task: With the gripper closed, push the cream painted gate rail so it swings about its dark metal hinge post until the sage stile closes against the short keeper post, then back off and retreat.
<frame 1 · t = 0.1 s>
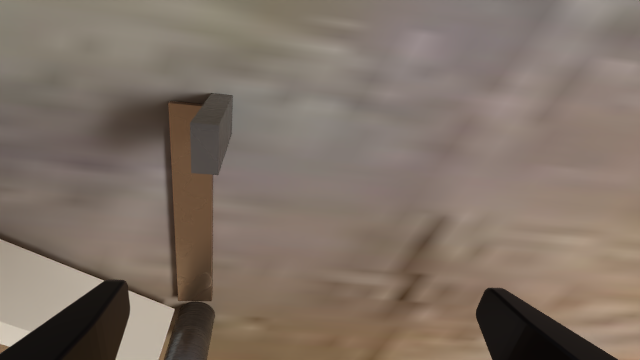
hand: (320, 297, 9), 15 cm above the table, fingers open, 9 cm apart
gate posts: (196, 315, 27), on the table
gate: (25, 305, 20), point 4 cm above the table, hinge at 60.0°
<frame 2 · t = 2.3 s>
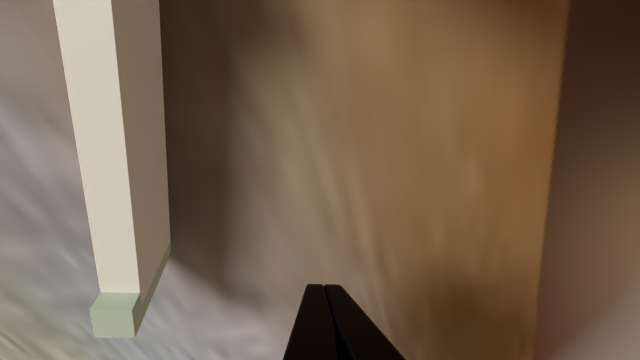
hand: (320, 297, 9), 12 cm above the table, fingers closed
gate: (123, 134, 14), point 4 cm above the table, hinge at 60.0°
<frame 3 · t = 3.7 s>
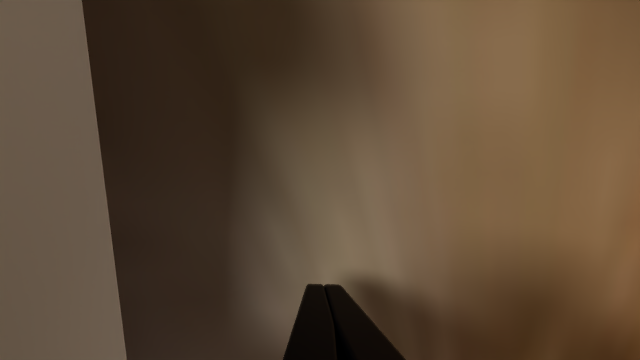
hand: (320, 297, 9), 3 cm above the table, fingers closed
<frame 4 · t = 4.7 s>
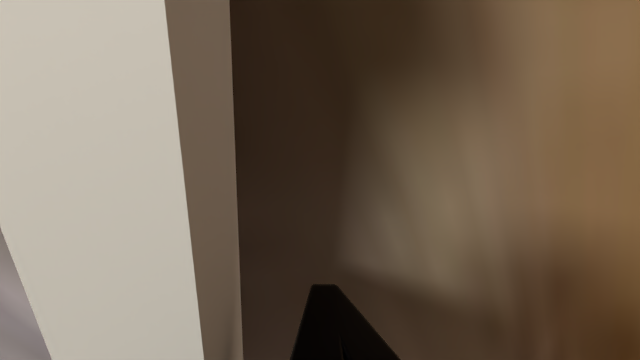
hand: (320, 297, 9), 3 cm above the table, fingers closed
gate: (182, 322, 6), point 4 cm above the table, hinge at 57.8°, touching gripper
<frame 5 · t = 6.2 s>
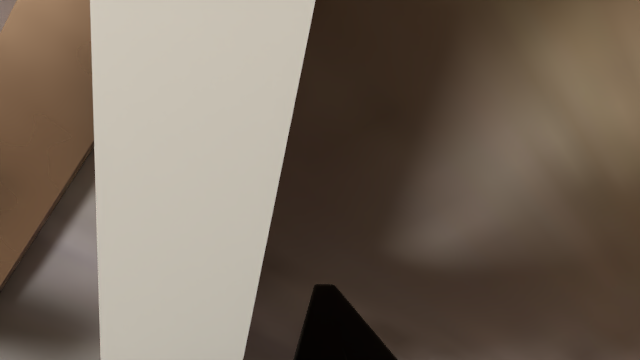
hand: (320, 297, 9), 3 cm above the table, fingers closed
gate: (194, 314, 6), point 4 cm above the table, hinge at 27.2°, touching gripper
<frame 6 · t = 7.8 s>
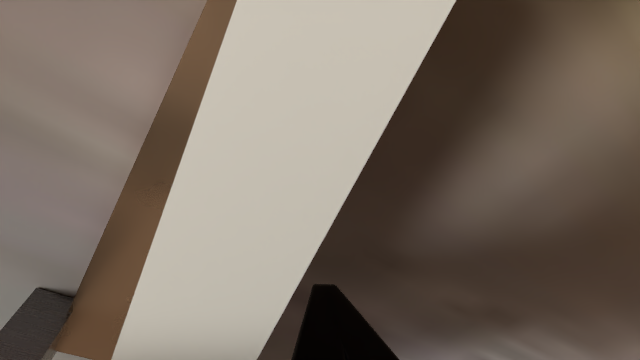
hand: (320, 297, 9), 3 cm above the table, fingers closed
gate: (192, 298, 6), point 4 cm above the table, hinge at 5.9°, touching gripper
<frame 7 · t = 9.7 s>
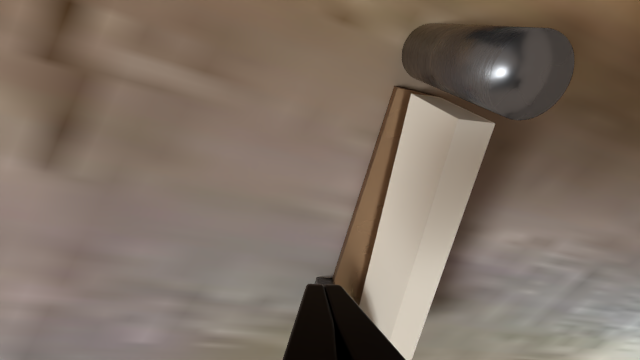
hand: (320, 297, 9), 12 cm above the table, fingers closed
gate posts: (427, 52, 18), on the table
gate: (408, 258, 19), point 4 cm above the table, hinge at 5.9°
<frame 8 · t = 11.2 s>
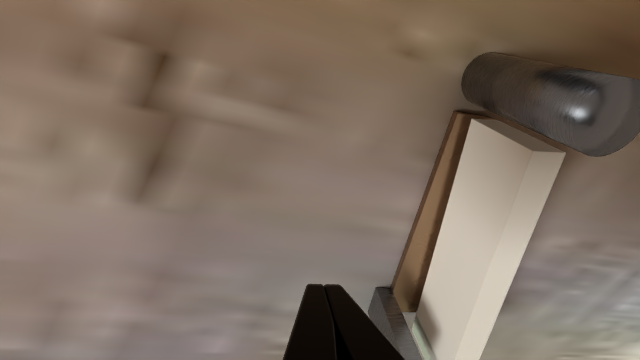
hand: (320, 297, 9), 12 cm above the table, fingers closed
gate posts: (485, 79, 19), on the table
gate: (472, 271, 20), point 4 cm above the table, hinge at 5.9°
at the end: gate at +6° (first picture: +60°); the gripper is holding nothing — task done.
